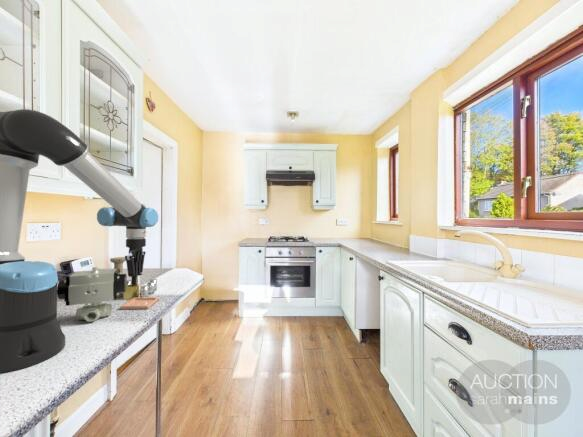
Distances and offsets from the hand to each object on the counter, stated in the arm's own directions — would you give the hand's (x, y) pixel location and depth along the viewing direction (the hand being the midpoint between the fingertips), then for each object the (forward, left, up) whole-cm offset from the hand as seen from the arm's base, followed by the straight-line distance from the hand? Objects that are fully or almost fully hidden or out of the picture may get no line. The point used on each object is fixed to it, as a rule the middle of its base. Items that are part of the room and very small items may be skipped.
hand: (135, 290), depth 111 cm
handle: (+7, +11, -2) cm, 14 cm away
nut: (-4, 0, -2) cm, 4 cm away
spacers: (0, 0, -2) cm, 2 cm away
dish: (-13, -9, -2) cm, 15 cm away
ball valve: (-26, 0, -2) cm, 26 cm away
